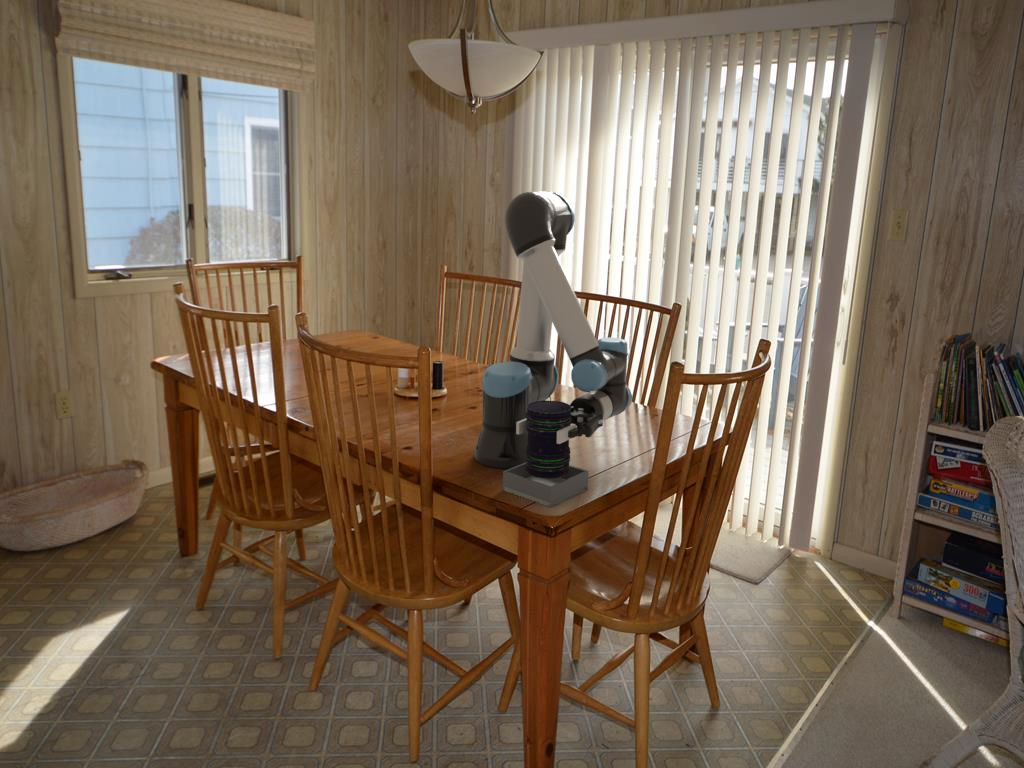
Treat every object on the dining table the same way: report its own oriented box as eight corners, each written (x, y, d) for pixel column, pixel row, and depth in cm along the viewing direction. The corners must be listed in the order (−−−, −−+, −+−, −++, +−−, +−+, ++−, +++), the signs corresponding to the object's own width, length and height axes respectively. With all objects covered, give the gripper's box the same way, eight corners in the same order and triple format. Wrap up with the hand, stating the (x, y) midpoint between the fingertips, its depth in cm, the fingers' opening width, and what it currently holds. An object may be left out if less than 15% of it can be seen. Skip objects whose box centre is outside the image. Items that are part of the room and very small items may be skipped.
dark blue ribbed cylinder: (519, 475, 172) (520, 410, 168) (532, 461, 181) (533, 398, 177) (564, 481, 169) (566, 415, 165) (574, 465, 178) (576, 402, 174)
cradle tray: (502, 490, 175) (503, 471, 174) (540, 474, 185) (541, 456, 184) (550, 507, 167) (551, 487, 166) (587, 489, 177) (588, 471, 176)
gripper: (631, 433, 181) (581, 460, 163) (550, 416, 194) (496, 439, 176) (633, 402, 179) (583, 426, 162) (550, 387, 192) (496, 407, 174)
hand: (537, 432), depth 169 cm, fingers closed on dark blue ribbed cylinder, 10 cm apart
